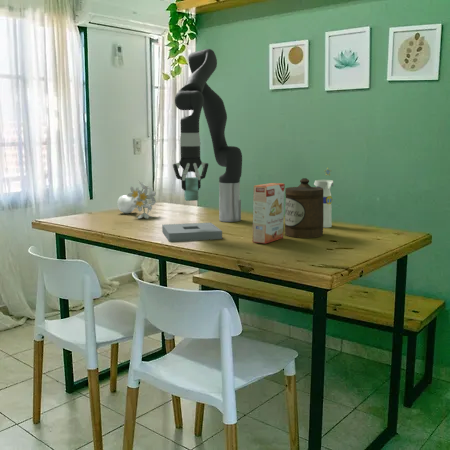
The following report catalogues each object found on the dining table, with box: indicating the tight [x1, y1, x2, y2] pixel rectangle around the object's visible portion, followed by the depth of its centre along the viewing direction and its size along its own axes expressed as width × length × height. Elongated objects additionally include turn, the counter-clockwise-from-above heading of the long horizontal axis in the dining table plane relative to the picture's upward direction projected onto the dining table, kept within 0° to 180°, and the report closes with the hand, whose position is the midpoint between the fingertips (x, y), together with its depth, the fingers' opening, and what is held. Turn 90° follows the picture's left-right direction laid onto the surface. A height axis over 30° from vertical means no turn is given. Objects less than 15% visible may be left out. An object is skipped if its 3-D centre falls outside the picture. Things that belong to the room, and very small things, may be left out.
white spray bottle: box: [313, 167, 334, 229], centre depth 233 cm, size 8×9×25 cm
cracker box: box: [252, 182, 286, 245], centre depth 204 cm, size 14×6×21 cm, turn 147°
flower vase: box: [116, 180, 157, 219], centre depth 266 cm, size 13×18×25 cm
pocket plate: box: [161, 222, 223, 242], centre depth 215 cm, size 20×20×3 cm
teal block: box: [183, 176, 199, 202], centre depth 213 cm, size 4×4×8 cm
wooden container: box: [284, 177, 324, 239], centre depth 215 cm, size 15×15×22 cm
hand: (191, 189), depth 213 cm, fingers closed on teal block, 4 cm apart
